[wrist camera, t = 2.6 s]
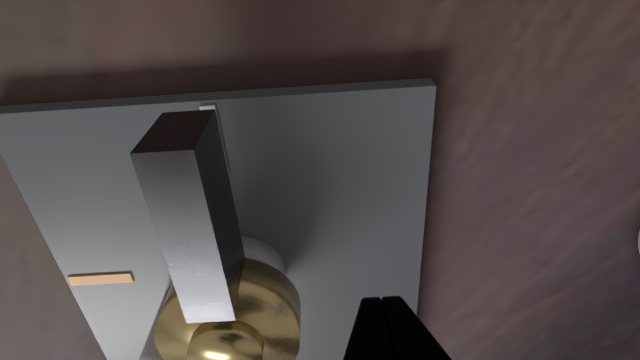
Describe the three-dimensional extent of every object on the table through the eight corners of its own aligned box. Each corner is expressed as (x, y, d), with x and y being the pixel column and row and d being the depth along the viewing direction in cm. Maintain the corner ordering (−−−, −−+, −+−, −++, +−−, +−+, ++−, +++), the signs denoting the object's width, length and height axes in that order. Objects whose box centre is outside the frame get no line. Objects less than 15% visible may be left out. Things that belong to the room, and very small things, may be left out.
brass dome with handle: (276, 105, 14) (268, 145, 12) (305, 344, 21) (304, 404, 18) (101, 116, 14) (55, 158, 12) (185, 351, 21) (167, 411, 18)
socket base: (430, 77, 17) (469, 128, 13) (408, 356, 26) (427, 439, 22) (-4, 105, 17) (-106, 164, 13) (126, 371, 27) (91, 455, 22)
